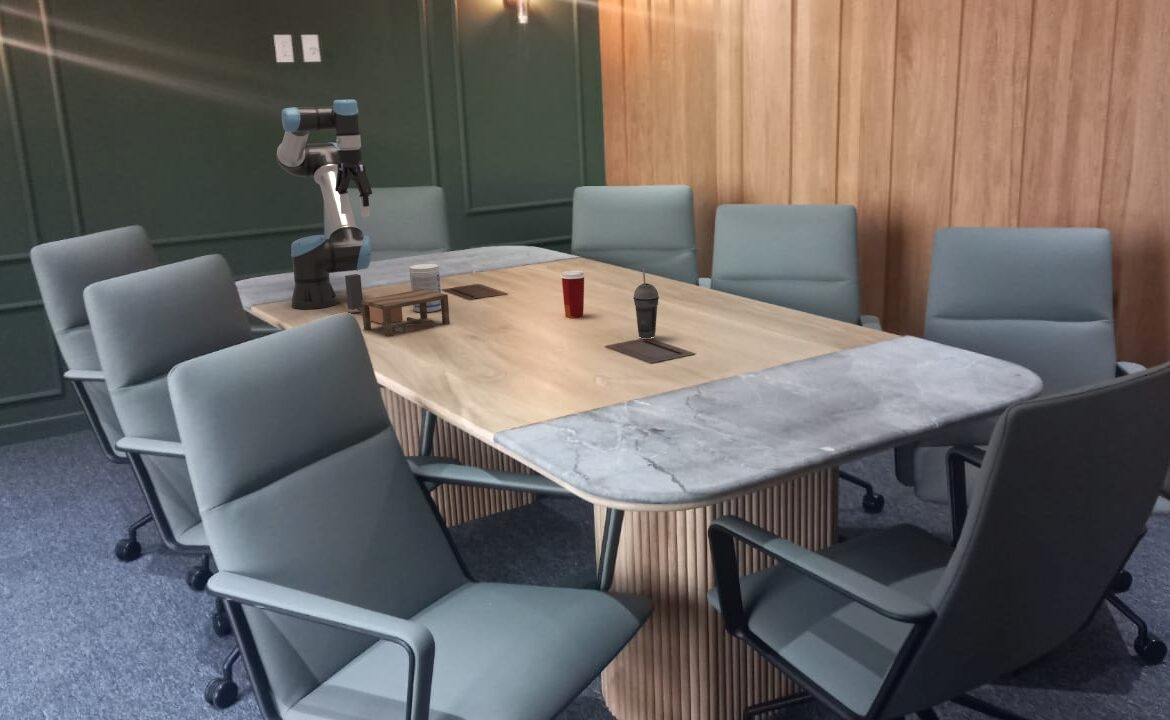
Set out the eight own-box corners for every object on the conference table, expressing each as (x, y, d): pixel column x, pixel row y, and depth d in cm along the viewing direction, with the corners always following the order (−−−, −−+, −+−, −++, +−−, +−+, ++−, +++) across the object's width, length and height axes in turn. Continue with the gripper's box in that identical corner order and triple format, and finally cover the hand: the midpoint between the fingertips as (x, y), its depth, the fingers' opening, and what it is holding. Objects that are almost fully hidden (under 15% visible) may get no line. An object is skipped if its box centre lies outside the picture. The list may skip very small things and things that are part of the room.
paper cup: (590, 314, 320) (589, 270, 316) (580, 319, 313) (578, 275, 309) (568, 313, 323) (566, 269, 319) (557, 318, 316) (555, 273, 313)
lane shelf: (363, 329, 310) (361, 300, 307) (424, 317, 324) (422, 289, 321) (388, 336, 299) (385, 306, 297) (449, 323, 314) (447, 294, 311)
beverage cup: (642, 341, 283) (641, 271, 278) (629, 336, 290) (627, 267, 284) (664, 338, 287) (663, 268, 281) (651, 333, 293) (650, 264, 288)
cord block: (344, 313, 333) (340, 276, 330) (363, 309, 337) (359, 273, 334) (383, 324, 315) (380, 285, 312) (402, 320, 320) (399, 281, 316)
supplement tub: (446, 310, 333) (443, 266, 329) (420, 314, 328) (417, 269, 324) (434, 305, 341) (431, 262, 337) (408, 309, 336) (404, 265, 332)
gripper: (320, 148, 332) (327, 213, 338) (358, 150, 314) (364, 219, 319) (341, 147, 337) (347, 211, 342) (379, 149, 319) (384, 216, 324)
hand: (355, 215), depth 331 cm, fingers open, 13 cm apart
